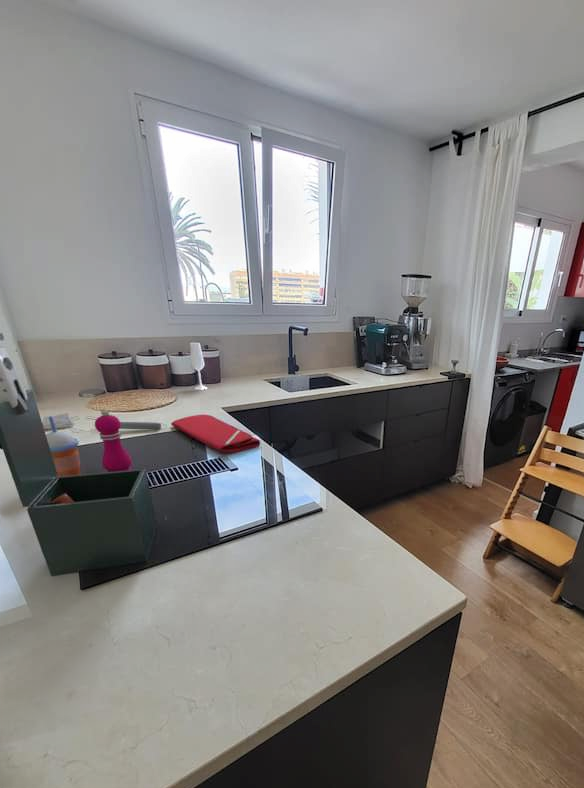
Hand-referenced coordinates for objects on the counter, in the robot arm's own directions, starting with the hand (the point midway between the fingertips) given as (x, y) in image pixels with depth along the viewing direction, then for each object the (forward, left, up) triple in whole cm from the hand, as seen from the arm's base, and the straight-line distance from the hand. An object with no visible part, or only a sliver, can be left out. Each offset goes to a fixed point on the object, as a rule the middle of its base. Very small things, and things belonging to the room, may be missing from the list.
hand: (3, 446), depth 70 cm
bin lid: (+4, 0, 0) cm, 4 cm away
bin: (+12, 0, -24) cm, 27 cm away
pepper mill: (+6, +38, -25) cm, 46 cm away
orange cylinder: (+12, 0, -23) cm, 26 cm away
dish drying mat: (+31, +68, -25) cm, 79 cm away
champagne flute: (+22, +149, -25) cm, 153 cm away
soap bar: (-27, +92, -25) cm, 99 cm away
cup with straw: (-8, +41, -25) cm, 49 cm away
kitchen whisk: (-4, +82, -25) cm, 86 cm away
